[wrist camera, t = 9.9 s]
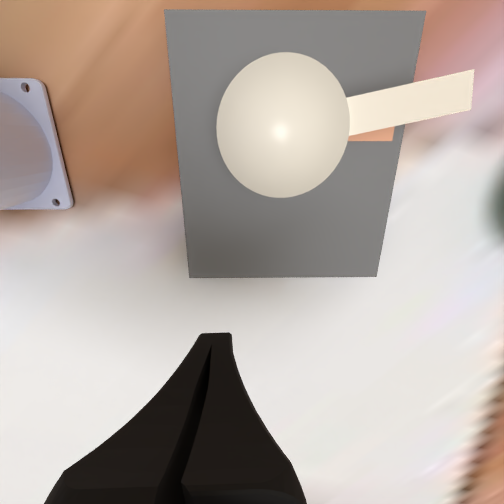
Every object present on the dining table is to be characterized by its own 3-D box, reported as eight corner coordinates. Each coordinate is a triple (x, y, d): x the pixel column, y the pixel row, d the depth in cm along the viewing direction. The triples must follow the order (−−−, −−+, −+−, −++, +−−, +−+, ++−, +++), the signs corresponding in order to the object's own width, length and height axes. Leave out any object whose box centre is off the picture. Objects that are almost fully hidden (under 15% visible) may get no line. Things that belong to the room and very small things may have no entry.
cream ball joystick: (235, 194, 18) (232, 208, 14) (211, 84, 15) (200, 70, 12) (425, 155, 17) (471, 160, 13) (429, 34, 15) (485, 2, 11)
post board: (193, 269, 23) (186, 284, 20) (171, 20, 16) (158, 1, 14) (368, 268, 23) (382, 283, 20) (411, 21, 17) (437, 2, 14)
